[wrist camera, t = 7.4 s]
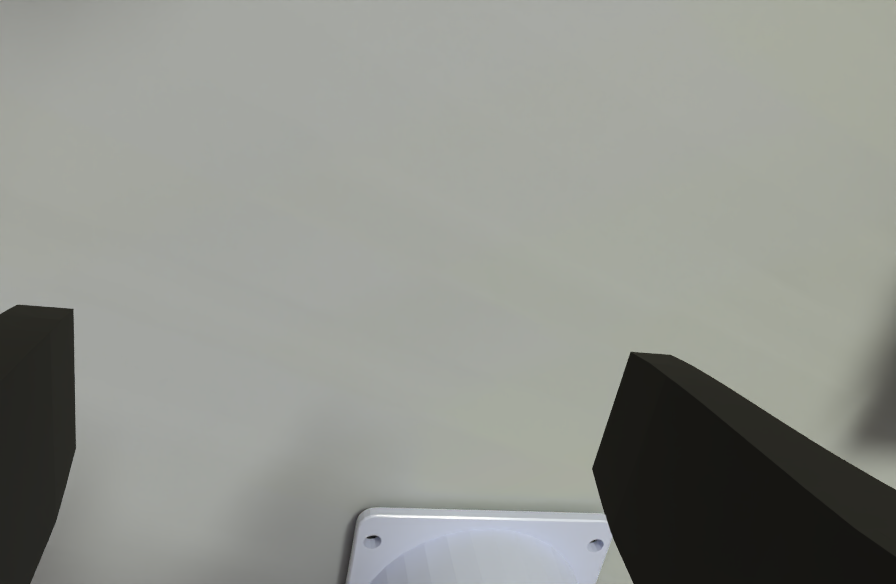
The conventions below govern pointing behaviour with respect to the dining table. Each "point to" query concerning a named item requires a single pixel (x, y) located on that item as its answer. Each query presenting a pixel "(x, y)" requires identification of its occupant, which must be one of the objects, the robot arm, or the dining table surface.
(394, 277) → the dining table surface
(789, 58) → the dining table surface
